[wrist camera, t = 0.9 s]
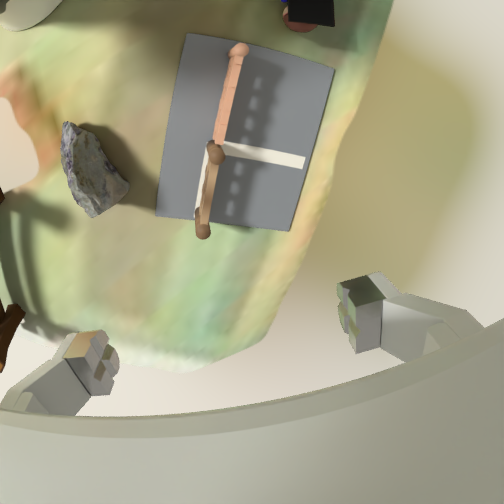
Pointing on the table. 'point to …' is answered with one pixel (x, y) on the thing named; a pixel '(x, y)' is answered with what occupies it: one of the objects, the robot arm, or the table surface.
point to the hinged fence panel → (229, 91)
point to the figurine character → (308, 14)
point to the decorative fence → (8, 322)
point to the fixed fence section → (208, 189)
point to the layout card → (241, 133)
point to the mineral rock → (90, 171)
